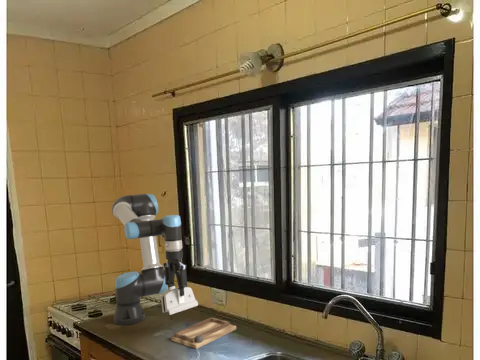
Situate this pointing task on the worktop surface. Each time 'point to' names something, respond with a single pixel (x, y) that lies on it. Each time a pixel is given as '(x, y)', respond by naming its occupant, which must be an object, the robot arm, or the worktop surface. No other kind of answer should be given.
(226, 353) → the worktop surface
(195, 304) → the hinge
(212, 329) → the wooden tray
